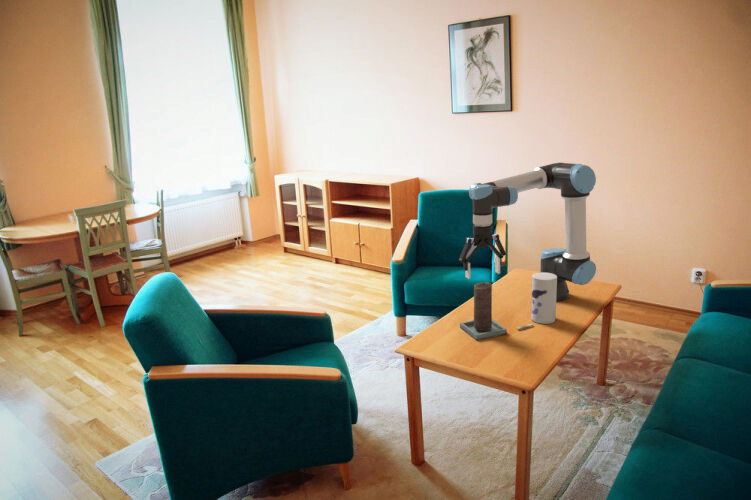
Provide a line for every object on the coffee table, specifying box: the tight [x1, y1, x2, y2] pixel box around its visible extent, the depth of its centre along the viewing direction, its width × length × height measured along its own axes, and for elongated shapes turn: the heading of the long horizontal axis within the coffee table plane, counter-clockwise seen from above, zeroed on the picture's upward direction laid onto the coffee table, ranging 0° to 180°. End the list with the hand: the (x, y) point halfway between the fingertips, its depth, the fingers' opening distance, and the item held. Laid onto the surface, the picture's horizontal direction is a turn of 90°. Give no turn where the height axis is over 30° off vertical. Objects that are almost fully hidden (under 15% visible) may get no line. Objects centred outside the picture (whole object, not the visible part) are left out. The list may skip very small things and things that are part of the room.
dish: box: [459, 319, 508, 341], centre depth 219 cm, size 14×14×2 cm
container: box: [530, 272, 557, 325], centre depth 225 cm, size 10×10×20 cm
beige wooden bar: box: [515, 323, 534, 331], centre depth 220 cm, size 8×1×1 cm, turn 115°
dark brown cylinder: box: [473, 282, 493, 331], centre depth 217 cm, size 8×7×20 cm
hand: (482, 275), depth 213 cm, fingers open, 13 cm apart
